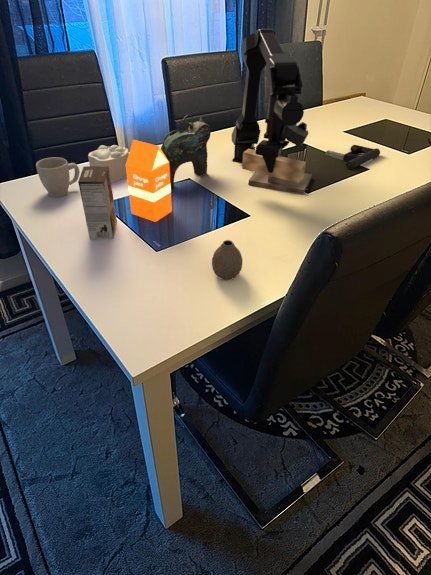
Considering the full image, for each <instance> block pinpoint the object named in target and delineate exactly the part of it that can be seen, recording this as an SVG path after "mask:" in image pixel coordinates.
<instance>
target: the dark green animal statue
mask: <svg viewBox="0 0 431 575" xmlns="http://www.w3.org/2000/svg"><path fill="white" fill-rule="evenodd" d="M189 117H190V118H191V120H192V122H188V121H187V124H188V125H189V126H188V128H187V130H180V129H174V130H172V131H170V132H168V133H167V134H166V135H165V136H164V137H163V139H162V140H163V141H162V144H161V146H160V149H161V150H162V152H163V153H164V155H165V157H166V158H167V160H168V161H169V168H170V183H171V188H174V186H175V176H176V172H177V171H178V169H179V167H180V166H181V165H183V164H187V163H190V162H191V163H192V167H193V172H194V175H196V176H199V177H202V176H205V175H207V174H208V147H207V144H208V142H209V140H210V139H211V138H210V137H211V128H210V127H211V126H210V125H209V124H207V123H205V121H204V118H203V117H202V116H200V118H199V121H194V117H193V116H192V115H191V114H186V115H185V116H184V117H183V119H182V121H183V122H185V121H186V119H187V118H189ZM174 132H176V133H174ZM173 133H174V134H173ZM171 134H172V135H171Z"/></svg>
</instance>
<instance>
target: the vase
mask: <svg viewBox="0 0 431 575" xmlns="http://www.w3.org/2000/svg"><path fill="white" fill-rule="evenodd" d="M211 267H212V271H213V272H214V274H215V275H216V276H217V277H218V278H219V279H221V280H223V281H229V280H230V281H231V280H233V279H235V278H237V276H239V274H240V272H241V271H242V268H243V256H242V254H241V251H240V249H239V248H238V247H237V246H236V245H235V243H234V242H233V241H232V240H230V239H226V240H224V241H222V243H221V244H220V246H218V247H217V249H216V250H215V251H214V252H213V256H212V259H211Z"/></svg>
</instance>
